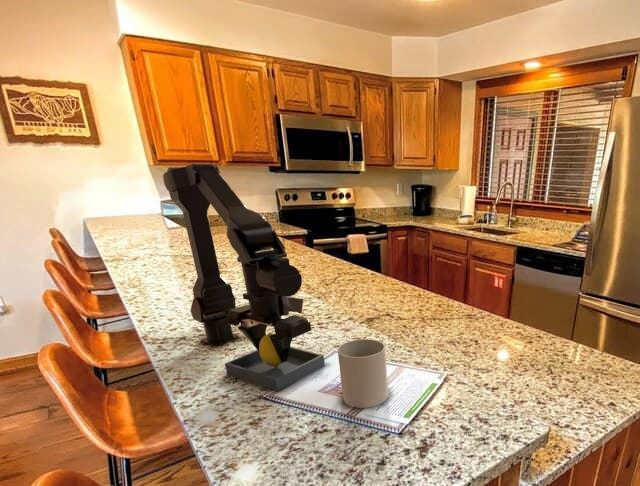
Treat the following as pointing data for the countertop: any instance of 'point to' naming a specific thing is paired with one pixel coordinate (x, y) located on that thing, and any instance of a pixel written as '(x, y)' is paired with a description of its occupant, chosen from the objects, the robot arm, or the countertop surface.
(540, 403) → the countertop surface
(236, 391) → the countertop surface
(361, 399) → the cup
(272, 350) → the lemon
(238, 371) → the tray
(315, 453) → the countertop surface
